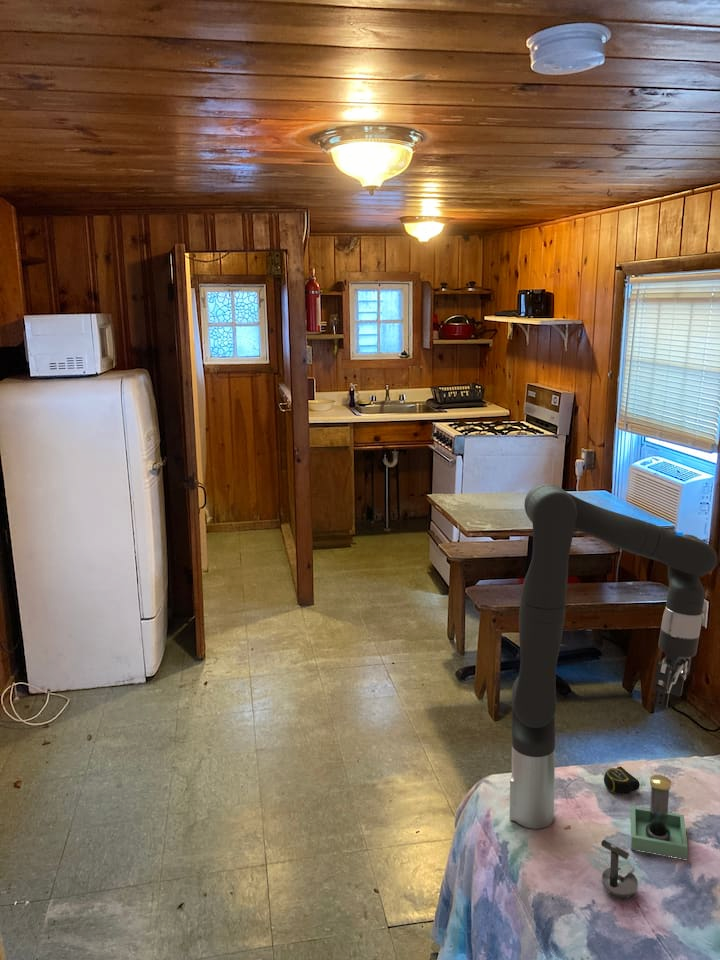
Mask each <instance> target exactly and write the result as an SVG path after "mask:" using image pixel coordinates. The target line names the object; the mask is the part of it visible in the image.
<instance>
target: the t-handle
mask: <svg viewBox="0 0 720 960" xmlns="http://www.w3.org/2000/svg"><path fill="white" fill-rule="evenodd" d="M600 845H601V847H603V848H604V849H607V850H609V851H610V867H609V868H606V869H604V871H603V872H602V875H601V883H602V886H603V888H604V889H605V890H606V891H607V892H610V893H609V894H610V895H611V896H612V897H614V898H616V899H618V898H619V899H620V900H626V899H628V898H630V897H632V896H634V895H635V894H636V893H637V891H638V883H639V882H638V879H637V877H636V876H635V874H633V873H634V872H635V867H633V866H632V865H630V864H628V863H626V864H625V865H624V866H623V867H619V859H620V858H619V857H621V858H622V859H625V860H627V859H628V858H629V856H630V853H629V852H627V851H626V850H624V849H622V848H620V847H618V846H617V845H614V844H613V843H611V842H609V841H607V840H605V839H603V840H602V841H601V844H600ZM619 899H618V900H619Z"/></svg>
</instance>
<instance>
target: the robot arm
mask: <svg viewBox="0 0 720 960" xmlns="http://www.w3.org/2000/svg"><path fill="white" fill-rule="evenodd" d="M523 506H524V511H525V514H526V515H527V517H528V519H529V520H530V521H531V523H532V557H531V561H530V564H529V567H528V570H527V572H526V575H525V577H524V581H523V584H522V587H521V592H520V600H519V601H520V602H519V611H518V612H519V614H518V617H519V618H518V634H519V635H518V637H519V638H518V639H519V653H520V661H519V662H520V663H519V664H520V666H519V673H518V676H517V677H516V678H515V680H514V682H513V684H512V687H511V688H512V689H511V776H510V781H509V820H510V821H513V822H515V823H517V824H518V825H520V826H522V827H525V828H529V829H534V830H535V829H536V830H538V829H544V828H546V827H549V826H550V825H551V824H552V823H553V822H554V819H555V818H554V817H555V816H554V814H555V769H556V766H555V765H556V721H555V720H556V718H555V717H556V712H557V708H558V707H557V705H558V702H557V689H556V687H557V686H556V684H557V683H556V681H557V664H558V658H559V653H560V649H561V646H562V645H561V643H562V637H563V631H564V624H565V620H566V619H565V618H566V608H567V607H566V606H567V591H568V580H569V579H568V578H569V560H570V552H571V547H572V542H573V537H574V533H575V531H578V532H581V533H584V534H587V535H589V536H591V537H595V539H598V540H601V541H602V542H605V543H607V544H609V545H611V546H614V547H615V548H618V549H620V550H623V551H626V552H628V553H631V554H634V555H637V556H640V557H643V558H647V559H650V560H654V561H658V562H660V563H662V564H664V565H667V571H668V572H667V576H668V591H667V595H666V604H665V607H664V608H665V609H664V611H663V615H662V618H661V619H662V620H661V626H660V631H659V632H660V633H659V636H658V637H659V638H658V644H657V645H658V648H659V649H660V651H662V652H664V653H665V657H663V659H662V661H659V662H658V663H657V668H656V673H655V680H654V683H653V689H654V690H655V691H657V692H656V701H655V706H656V707H657V708H659V709H662V710H666V709H667V708H668V705H669V701H670V700H669V698H670V694H671V695H673V696H675V697H681V696H682V694H683V688H684V684H685V683H684V682H685V681H686V679H687V676H688V675H690V670H691V663H692V658H693V657H695V656H696V655H697V651H698V646H699V640H700V634H701V628H702V619H703V618H702V615H703V609H704V605H705V603H704V602H705V595H706V591H705V589H704V586H703V584H702V583H701V576H705V575H708V574H710V573H711V572H713V571H714V570H715V569H716V567H717V565H718V554H717V553H716V551H715V549H714V548H713V546H711V545H710V544H708V543H707V542H705V541H703V540H702V539H701V538H699V537H697V536H695V535H692V534H682V535H679V534H676V533H674V532H671V531H670V530H668V529H667V528H664V527H662V526H661V525H657V524H654V523H651V522H647V521H645V520H641V519H638V518H635V517H632V516H629V515H626V514H623V513H619V512H615V511H612V510H609V509H606V508H603V507H601V506H598V505H595V504H593V503H591V502H587V501H586V500H583V499H581V498H578V497H577V496H575V495H574V494H572V493H569V492H567V491H566V490H564V489H563V488H562V487H561V486H558V485H556V484H552V483H542V484H538V485H536V486H534V487H533V488H532V489H530V490H529V491H528V493H527V494H526V496H525V498H524V505H523ZM663 683H664V685H663Z"/></svg>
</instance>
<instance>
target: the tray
mask: <svg viewBox="0 0 720 960" xmlns="http://www.w3.org/2000/svg"><path fill="white" fill-rule="evenodd" d="M630 808H631V809H630V850H631V849H634V850H640V851H645V852H651V853H656V854H661V855H665V856H670V857H671V856H672V857H677V858H681V859H687V860H688V840H687V839H688V838H687V832H686V830H687V829H686V821H685V816H684V815H685V814H681V813H680V814H679V813H673V812H669V811H668V818H667V828H668V829H669V831H670V840H669V841H664V840H659V839H653V838H648V837H647V836H646V826H647V825H649V824H650V809H649V808H644V807H639V806H631V807H630Z"/></svg>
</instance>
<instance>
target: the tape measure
mask: <svg viewBox="0 0 720 960" xmlns="http://www.w3.org/2000/svg"><path fill="white" fill-rule="evenodd" d="M603 776H604V777H603V783H604V786H605V787H606V788H607V790H609V791H610V792H612V793H614V794H617V795H629V794H631V793H632V792H636V791H638V790H639V789H640V784H641V783H640V781H639V780H638V779H637V778H636V777H634V776H633V775H632V774H631V773H630V772H629V771H627V770H626V769H625V768H624V767H622V766H617V767H616V768H615V767H612V768H609V769H607V770H606V771H605V773H604V775H603Z"/></svg>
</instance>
